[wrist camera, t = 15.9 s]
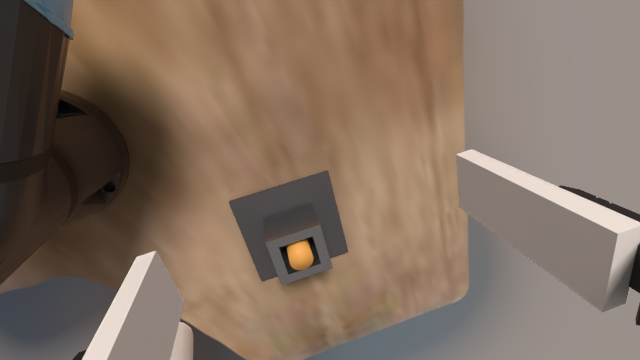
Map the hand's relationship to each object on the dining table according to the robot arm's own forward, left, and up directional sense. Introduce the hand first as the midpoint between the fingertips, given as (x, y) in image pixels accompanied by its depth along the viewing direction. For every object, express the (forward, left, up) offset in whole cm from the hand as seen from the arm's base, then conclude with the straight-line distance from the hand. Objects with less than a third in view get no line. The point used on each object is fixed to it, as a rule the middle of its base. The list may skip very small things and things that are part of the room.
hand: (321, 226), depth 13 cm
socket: (-2, -17, -28) cm, 33 cm away
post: (-2, -17, -29) cm, 33 cm away
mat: (-2, -17, -29) cm, 33 cm away
